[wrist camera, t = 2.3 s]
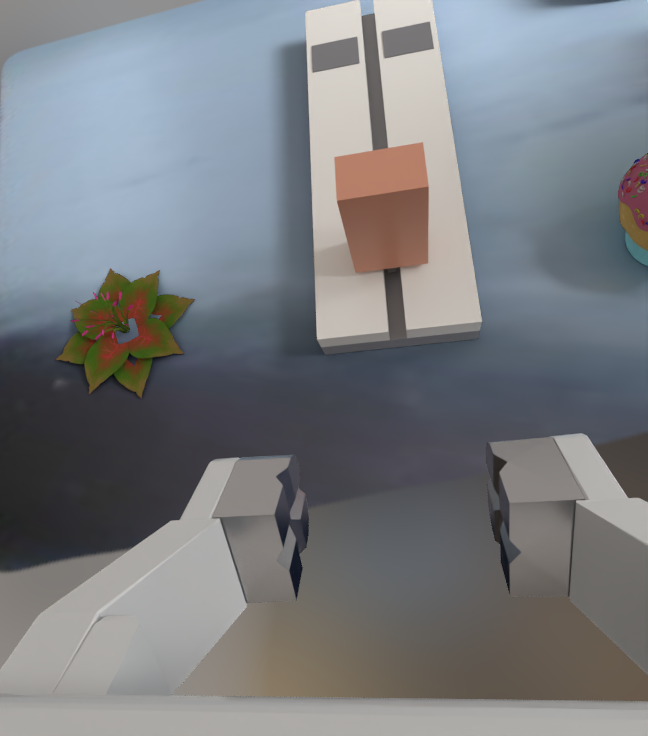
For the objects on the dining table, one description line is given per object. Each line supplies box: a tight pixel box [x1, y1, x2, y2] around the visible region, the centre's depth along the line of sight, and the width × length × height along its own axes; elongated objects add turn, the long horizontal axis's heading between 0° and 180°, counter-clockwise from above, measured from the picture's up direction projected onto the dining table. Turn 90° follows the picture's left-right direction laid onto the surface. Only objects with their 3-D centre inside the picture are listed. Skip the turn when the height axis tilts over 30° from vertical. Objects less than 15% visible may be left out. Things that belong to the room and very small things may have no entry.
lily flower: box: [56, 268, 195, 398], centre depth 40 cm, size 12×12×5 cm
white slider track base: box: [305, 0, 482, 355], centre depth 40 cm, size 11×32×3 cm, turn 2°
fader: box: [334, 142, 429, 273], centre depth 32 cm, size 5×3×10 cm, turn 92°
